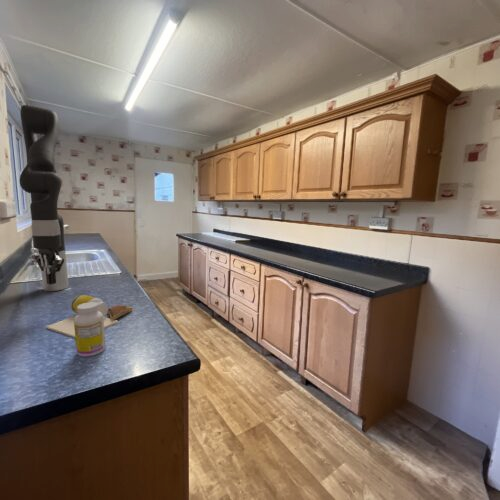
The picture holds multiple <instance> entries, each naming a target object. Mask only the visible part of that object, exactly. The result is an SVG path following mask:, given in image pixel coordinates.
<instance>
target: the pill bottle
mask: <svg viewBox="0 0 500 500" xmlns="http://www.w3.org/2000/svg"><path fill="white" fill-rule="evenodd" d="M88 302H96V303H98V311H99V312H101V313H102V314H103V317H105V315H106V314H108V309H109V305H108V304H107V302H106V303H105V302H104V301H103V300H102V299H101V298H98V297H94V296H91V295H86V294H80V295H77V296H75V297H74V298H73V299H72V301H71V305H70V307H71V310H72V311H73V312H74V313H75V314H77V315H78V314H79V313H78V312H77V306H78V305H80V304H83V303H88Z"/></svg>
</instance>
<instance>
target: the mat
mask: <svg viewBox="0 0 500 500" xmlns="http://www.w3.org/2000/svg"><path fill="white" fill-rule="evenodd" d="M77 315H78V314H77ZM77 315H74V316H72V317H68V318H66V319H63V320H61V321H57V322H54V323H52V324H48V325H46V326H45V327H46V329H47V330H50V331H52V332H56V333H60V334H62V335H65V336H68V337H70V338H74V339H75V328H74V318H75V317H76V316H77ZM103 320H104V330H105V329H108V328H110V327H111V326H114V325H116V324H118V323H119V320H117V319H114V320H113V319H111V317H106V316H103Z"/></svg>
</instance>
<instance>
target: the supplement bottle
mask: <svg viewBox="0 0 500 500" xmlns="http://www.w3.org/2000/svg"><path fill="white" fill-rule="evenodd" d="M77 312H78V313H79V314H78V313H77V316H76V315H75V316H76V317H75V318H74V328H75V338H74V339H75V346H76V354H77V355H78V356H80V357H93V356H96V355H98V354H101V353H102V352H103V351H104V350H105V348H106V336H105V335H106V333H105V329H104V320H103V317H104V316H103V314H102V313H101V312H99V311H98V303H96V302H88V303H83V304H80V305H78V306H77Z"/></svg>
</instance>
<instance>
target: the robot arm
mask: <svg viewBox="0 0 500 500" xmlns="http://www.w3.org/2000/svg"><path fill="white" fill-rule="evenodd" d="M20 121H21V127H22V134H23V140H24V146H25V152H26V165H25V167H24V168H23V170H22V172H21V173H20V177H19V186H20V187H21V189H22V191H24V192H25V193H28V194H30V198H31V199H30V201H31V203H30V204H29V205H30V206H29V207H30V216H31V218H30V219H31V233H32V234H31V235H32V244H33V245H32V246H33V248H34V249H36V250H38V251H37V252H38V254H37V255H34V259H35V262H36V263H37V265H38V268H39V269H40V271H41V272H40V273H41V281H42V289H43V291H44V292H45V291H46V292H56V291H61V290H66V289H67V288H69V285H70V284H69V278H68V277H69V275H68V266H67V265H68V264H67V255H66V244H65V234H64V233H65V230H64V229H65V228H64V227H65V226H64V224H65V223H64V218H63V216H62V215H61V214H58V202H59V196H60V191H61V189H62V179H61V177H60V176H59V174H58V173H57V170H56V167H55V152H56V149H57V144H58V143H57V142H58V137H59V132H60V125H59V124H60V123H59V116H58V115H57V112H55V111H54V110H52V109H47V108H42V107H37V106H34V105H33V106H32V105H29V104H28V105H27V104H23V105H22V106H21V107H20ZM35 134H37V135H42V137H40V138H39V139H38V138H36V137H35V136H36V135H35Z"/></svg>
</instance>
